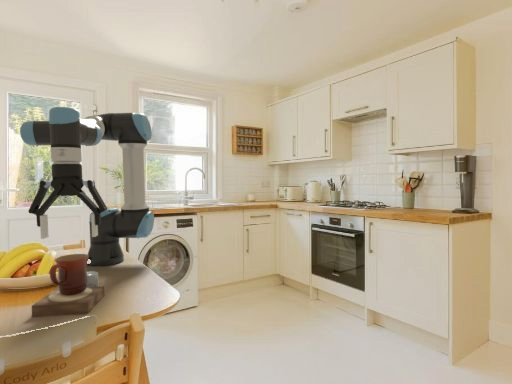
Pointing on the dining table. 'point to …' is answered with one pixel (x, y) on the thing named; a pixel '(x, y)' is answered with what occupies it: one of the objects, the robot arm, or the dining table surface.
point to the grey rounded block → (92, 278)
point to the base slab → (68, 302)
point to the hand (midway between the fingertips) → (70, 237)
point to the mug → (70, 273)
